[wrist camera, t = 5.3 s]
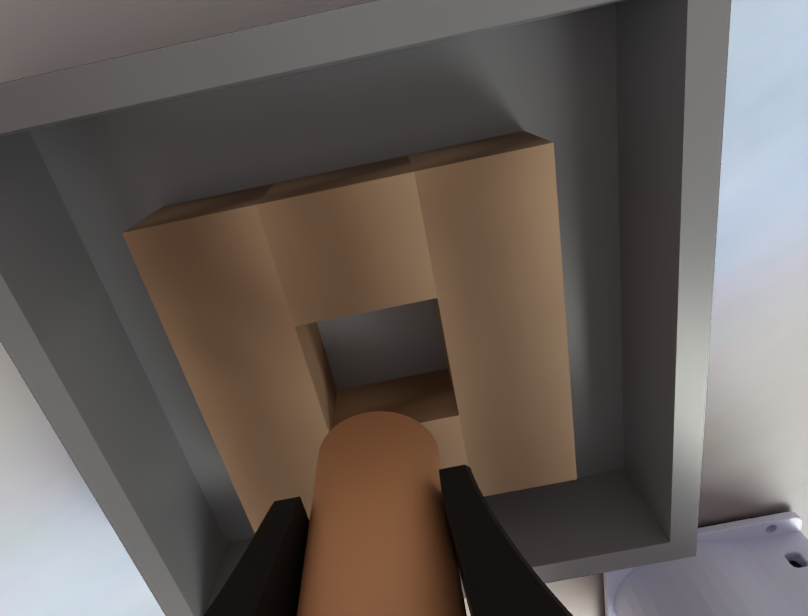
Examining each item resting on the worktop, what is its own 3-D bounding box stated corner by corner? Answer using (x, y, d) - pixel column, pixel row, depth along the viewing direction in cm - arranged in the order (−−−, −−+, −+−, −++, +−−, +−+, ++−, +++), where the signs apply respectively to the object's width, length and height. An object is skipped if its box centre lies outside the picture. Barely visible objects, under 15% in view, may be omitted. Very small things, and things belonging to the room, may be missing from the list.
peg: (432, 403, 13) (490, 725, 7) (444, 496, 14) (500, 835, 8) (306, 420, 13) (245, 759, 7) (330, 511, 14) (298, 862, 8)
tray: (639, -40, 15) (736, -80, 11) (640, 472, 24) (696, 556, 20) (-6, 102, 16) (-137, 113, 12) (216, 551, 24) (184, 647, 20)
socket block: (524, 130, 17) (553, 142, 14) (551, 427, 22) (577, 479, 19) (162, 206, 17) (121, 233, 14) (271, 480, 22) (257, 538, 19)
